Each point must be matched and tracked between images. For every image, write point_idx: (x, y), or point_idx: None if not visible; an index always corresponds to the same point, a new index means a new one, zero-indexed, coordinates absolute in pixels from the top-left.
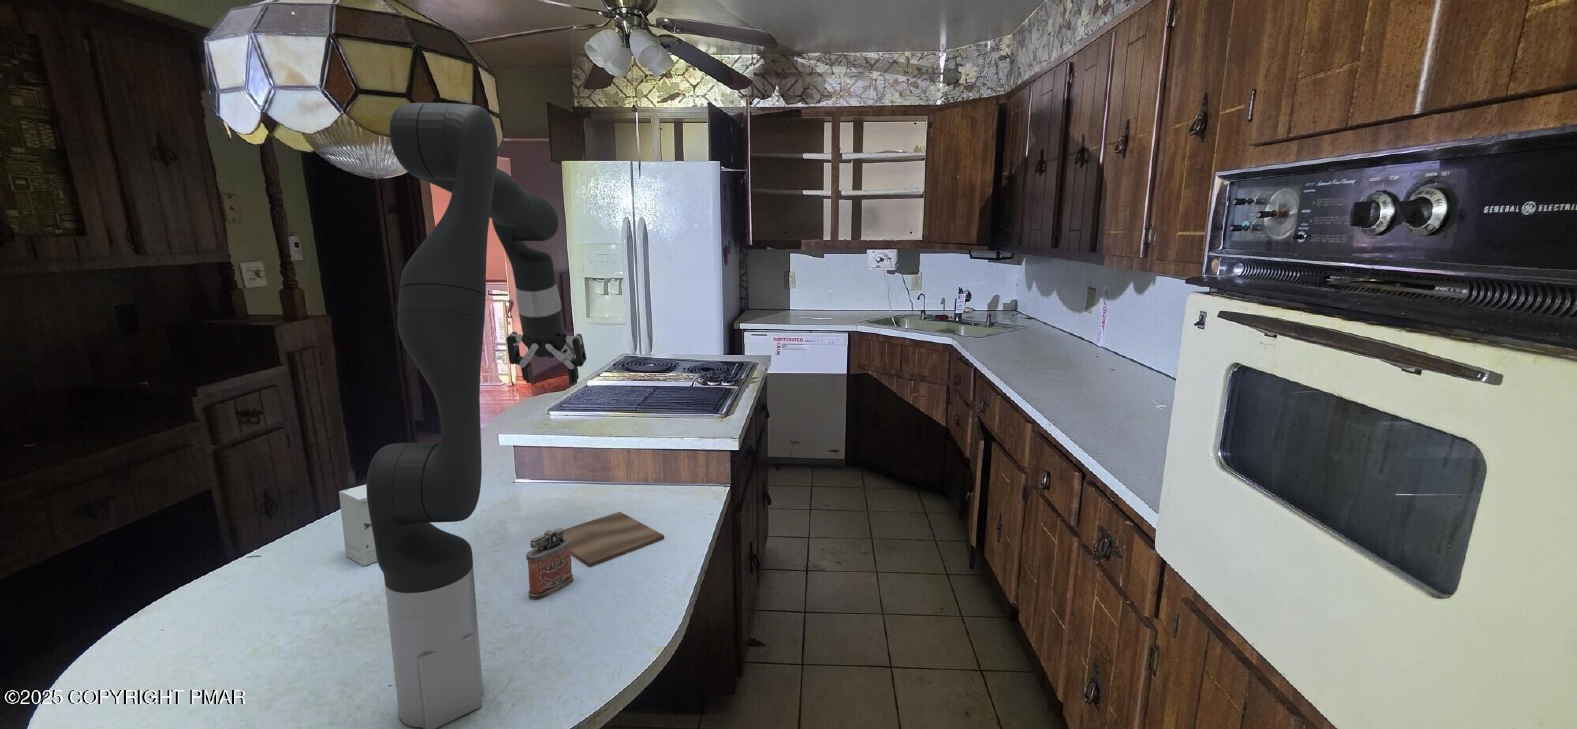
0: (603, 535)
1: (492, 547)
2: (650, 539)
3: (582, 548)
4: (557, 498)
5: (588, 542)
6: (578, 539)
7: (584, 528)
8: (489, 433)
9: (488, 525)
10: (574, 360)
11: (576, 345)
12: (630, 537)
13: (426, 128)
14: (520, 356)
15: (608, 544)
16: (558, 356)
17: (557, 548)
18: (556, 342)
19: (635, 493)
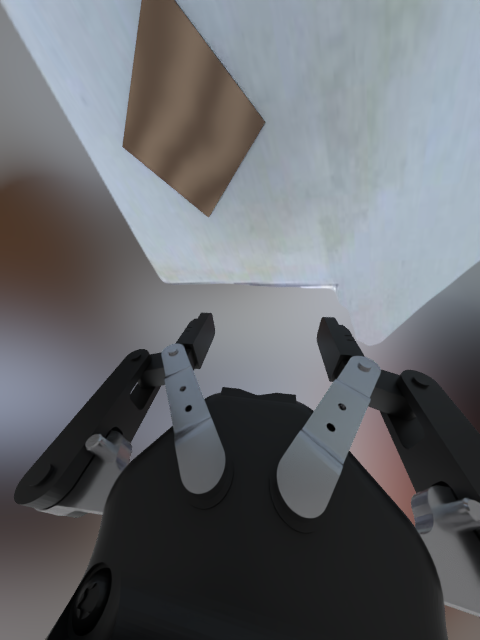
0: (190, 132)
1: (344, 60)
2: (127, 126)
3: (194, 62)
4: (286, 252)
5: (197, 96)
6: (216, 108)
7: (224, 157)
8: None
9: (356, 165)
10: (163, 374)
11: (63, 445)
12: (154, 130)
13: None
14: (379, 408)
15: (166, 92)
16: (186, 388)
17: None
18: (157, 487)
19: (219, 267)
